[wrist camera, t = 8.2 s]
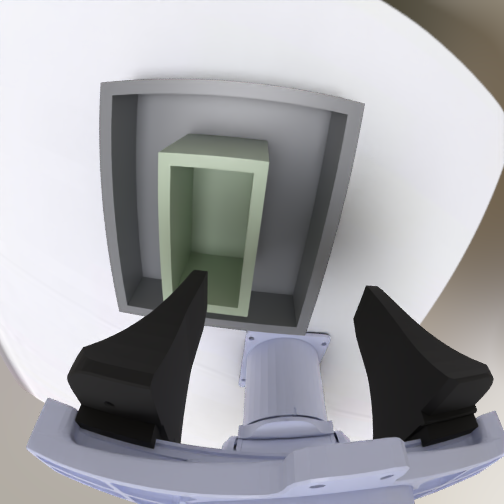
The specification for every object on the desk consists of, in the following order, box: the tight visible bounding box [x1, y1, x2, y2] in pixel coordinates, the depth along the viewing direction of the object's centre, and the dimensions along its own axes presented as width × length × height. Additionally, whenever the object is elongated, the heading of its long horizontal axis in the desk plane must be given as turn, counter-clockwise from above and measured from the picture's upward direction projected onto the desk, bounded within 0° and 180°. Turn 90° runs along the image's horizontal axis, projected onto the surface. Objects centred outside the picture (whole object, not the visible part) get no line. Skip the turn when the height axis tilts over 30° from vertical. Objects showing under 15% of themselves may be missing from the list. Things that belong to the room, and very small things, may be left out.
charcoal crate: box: [99, 79, 365, 336], centre depth 19 cm, size 16×14×4 cm
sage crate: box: [158, 134, 269, 317], centre depth 17 cm, size 9×5×6 cm, turn 173°
